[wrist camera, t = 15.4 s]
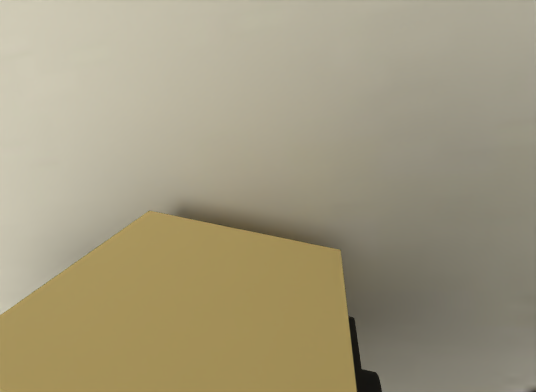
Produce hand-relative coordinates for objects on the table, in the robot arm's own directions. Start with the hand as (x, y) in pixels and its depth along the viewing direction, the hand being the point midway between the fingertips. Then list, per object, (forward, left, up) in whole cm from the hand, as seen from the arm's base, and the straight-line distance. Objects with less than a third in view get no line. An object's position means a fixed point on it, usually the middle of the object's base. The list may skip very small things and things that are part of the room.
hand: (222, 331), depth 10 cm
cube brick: (0, 0, -1) cm, 1 cm away
